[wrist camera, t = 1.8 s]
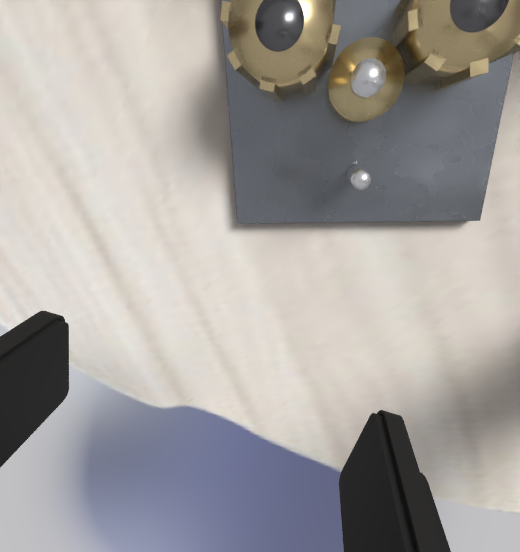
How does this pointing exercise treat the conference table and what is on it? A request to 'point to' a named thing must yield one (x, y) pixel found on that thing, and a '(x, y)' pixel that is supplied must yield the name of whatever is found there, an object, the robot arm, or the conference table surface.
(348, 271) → the conference table surface
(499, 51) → the seated gear
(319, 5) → the seated gear
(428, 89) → the carrier
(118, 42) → the conference table surface
